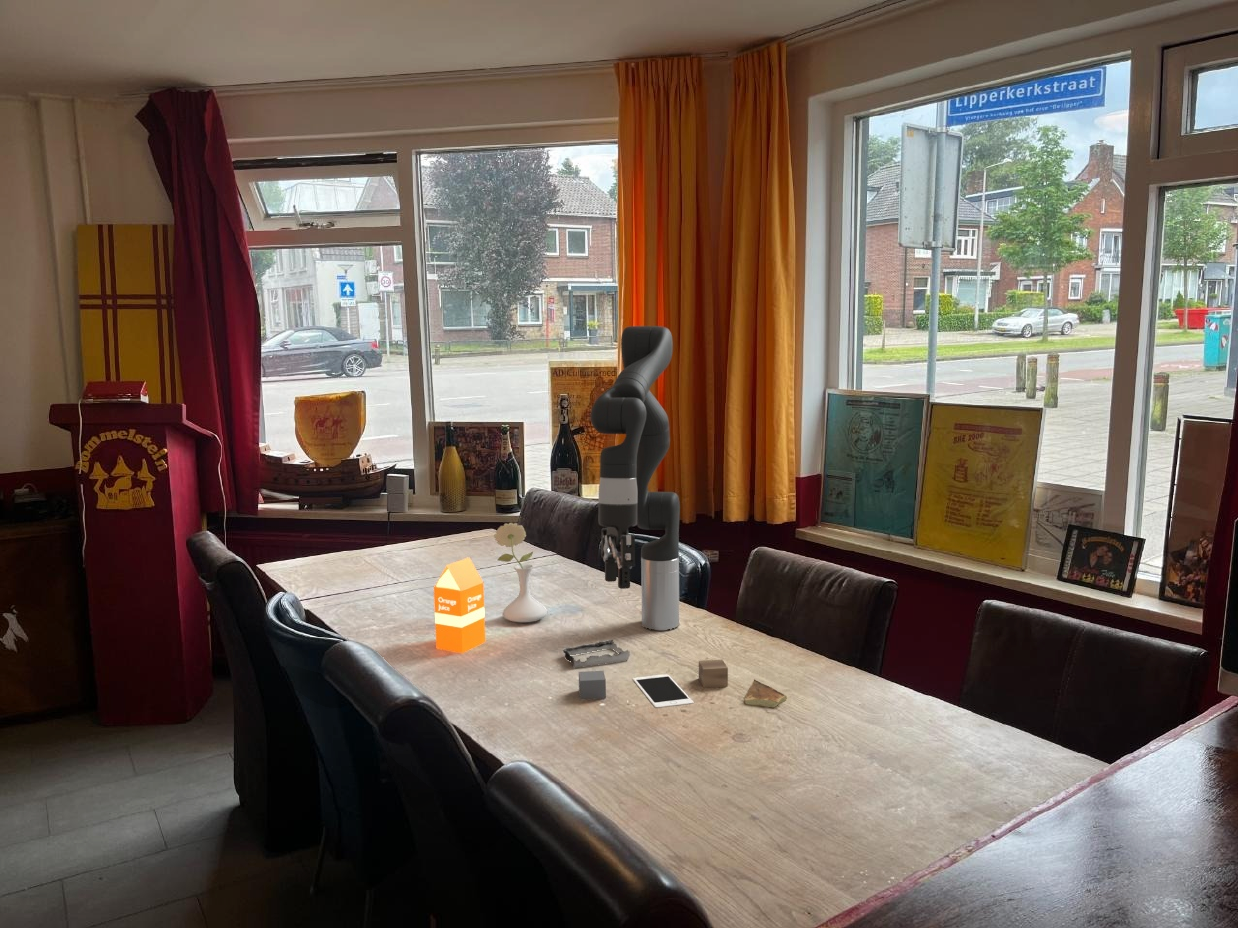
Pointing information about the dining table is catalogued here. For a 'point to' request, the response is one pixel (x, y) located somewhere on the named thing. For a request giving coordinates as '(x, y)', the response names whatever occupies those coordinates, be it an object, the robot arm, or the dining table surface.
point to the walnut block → (713, 673)
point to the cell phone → (662, 691)
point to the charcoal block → (592, 685)
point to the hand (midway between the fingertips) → (617, 584)
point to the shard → (763, 695)
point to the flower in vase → (524, 604)
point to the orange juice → (459, 608)
